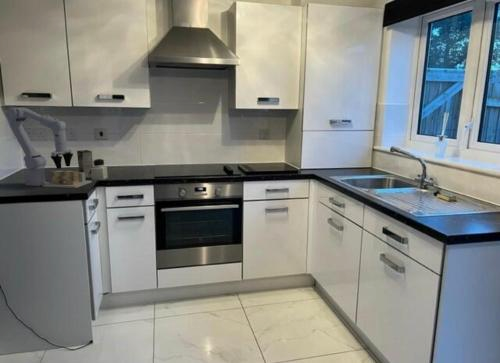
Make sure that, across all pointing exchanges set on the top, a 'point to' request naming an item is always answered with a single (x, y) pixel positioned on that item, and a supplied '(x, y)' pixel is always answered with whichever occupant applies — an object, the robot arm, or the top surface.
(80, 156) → the coffee box
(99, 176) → the medicine bottle
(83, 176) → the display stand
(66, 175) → the ash bar
